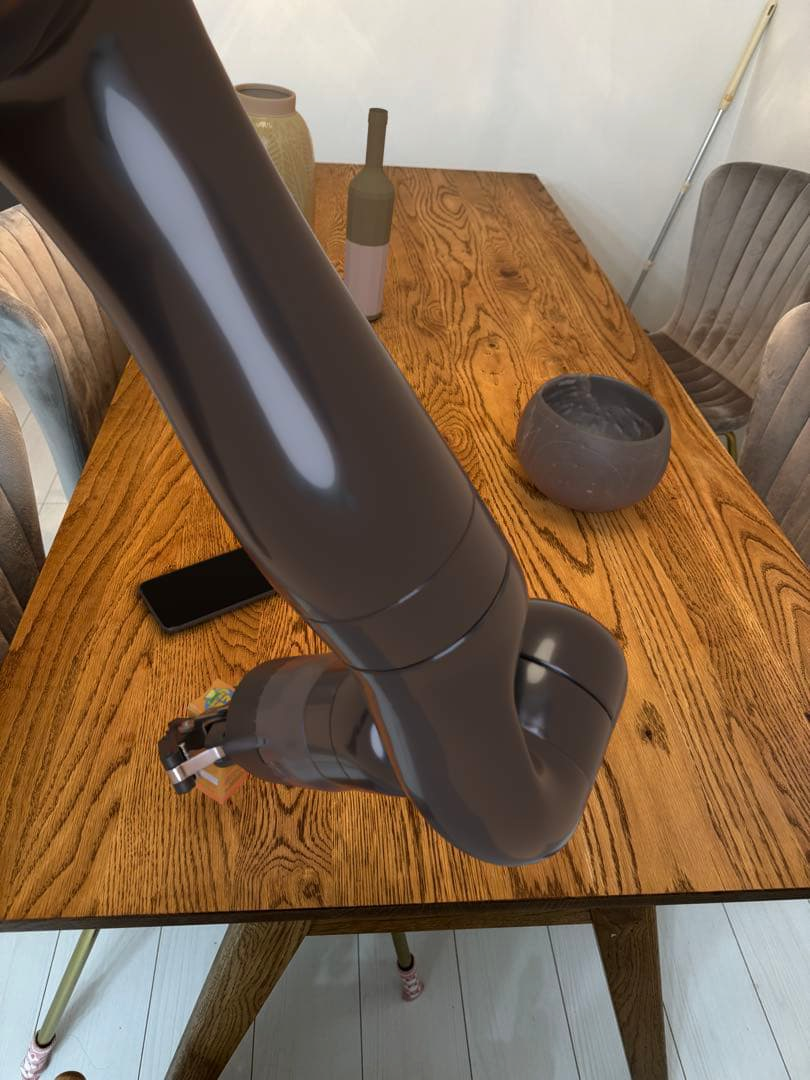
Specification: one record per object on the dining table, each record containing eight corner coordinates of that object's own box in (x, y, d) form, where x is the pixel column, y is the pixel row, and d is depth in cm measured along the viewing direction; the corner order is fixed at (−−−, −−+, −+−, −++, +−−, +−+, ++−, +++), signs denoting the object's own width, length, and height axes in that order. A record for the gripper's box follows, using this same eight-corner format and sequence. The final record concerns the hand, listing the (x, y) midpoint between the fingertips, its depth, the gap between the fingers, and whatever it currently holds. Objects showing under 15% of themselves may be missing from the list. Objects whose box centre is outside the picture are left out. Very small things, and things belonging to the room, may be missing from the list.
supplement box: (224, 809, 61) (220, 728, 55) (189, 785, 62) (181, 704, 56) (252, 777, 63) (252, 696, 57) (218, 755, 64) (214, 673, 58)
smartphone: (166, 638, 75) (307, 583, 83) (165, 632, 75) (307, 577, 82) (135, 589, 80) (271, 540, 87) (134, 582, 79) (271, 534, 86)
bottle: (387, 310, 133) (409, 109, 113) (376, 328, 128) (396, 120, 108) (346, 301, 134) (361, 100, 114) (333, 319, 128) (346, 111, 109)
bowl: (535, 434, 110) (557, 349, 101) (664, 483, 104) (699, 397, 96) (481, 499, 97) (502, 409, 89) (625, 559, 92) (661, 468, 84)
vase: (191, 257, 140) (181, 82, 122) (266, 236, 150) (267, 72, 133) (260, 293, 132) (260, 112, 115) (333, 268, 143) (344, 99, 125)
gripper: (381, 605, 50) (258, 627, 64) (181, 728, 42) (89, 723, 55) (431, 713, 51) (299, 712, 65) (245, 855, 42) (139, 819, 56)
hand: (203, 717), depth 60 cm, fingers closed on supplement box, 4 cm apart
